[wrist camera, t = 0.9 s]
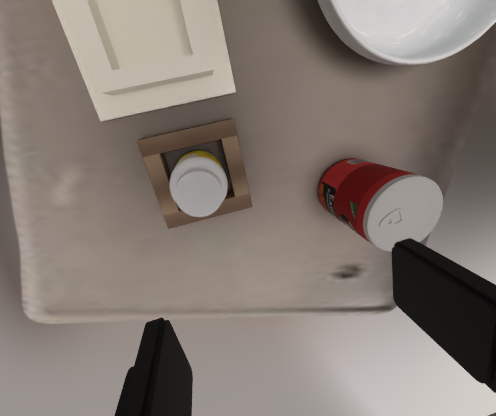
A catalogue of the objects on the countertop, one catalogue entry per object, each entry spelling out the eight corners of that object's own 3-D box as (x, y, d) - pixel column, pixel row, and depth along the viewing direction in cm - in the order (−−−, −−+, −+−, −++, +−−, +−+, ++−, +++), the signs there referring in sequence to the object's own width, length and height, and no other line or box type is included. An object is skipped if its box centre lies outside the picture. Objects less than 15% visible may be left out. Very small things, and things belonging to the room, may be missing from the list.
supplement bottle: (230, 180, 31) (242, 207, 22) (191, 201, 31) (187, 236, 22) (208, 140, 29) (211, 150, 20) (166, 162, 29) (150, 183, 20)
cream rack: (36, -51, 21) (-52, -141, 14) (199, -76, 23) (199, -171, 15) (104, 121, 26) (67, 122, 19) (234, 93, 28) (247, 83, 20)
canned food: (305, 185, 33) (352, 216, 23) (354, 144, 32) (425, 156, 22) (335, 224, 36) (389, 267, 25) (380, 187, 35) (455, 215, 25)
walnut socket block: (142, 138, 28) (136, 140, 25) (230, 118, 28) (233, 118, 26) (170, 220, 31) (168, 228, 29) (248, 200, 32) (252, 206, 30)
